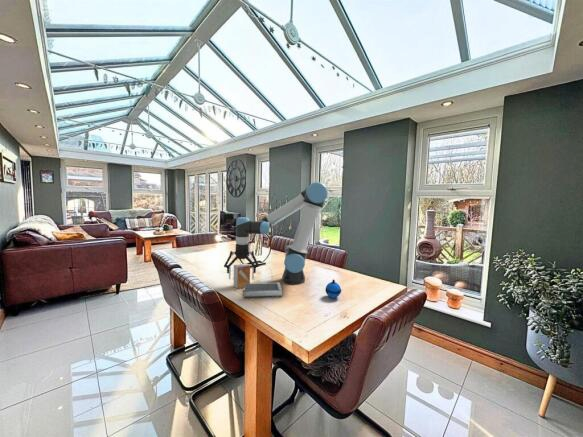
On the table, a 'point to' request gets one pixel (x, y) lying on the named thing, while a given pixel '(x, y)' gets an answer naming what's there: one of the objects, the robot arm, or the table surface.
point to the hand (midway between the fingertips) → (241, 278)
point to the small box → (241, 275)
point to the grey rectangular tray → (262, 290)
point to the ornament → (333, 289)
